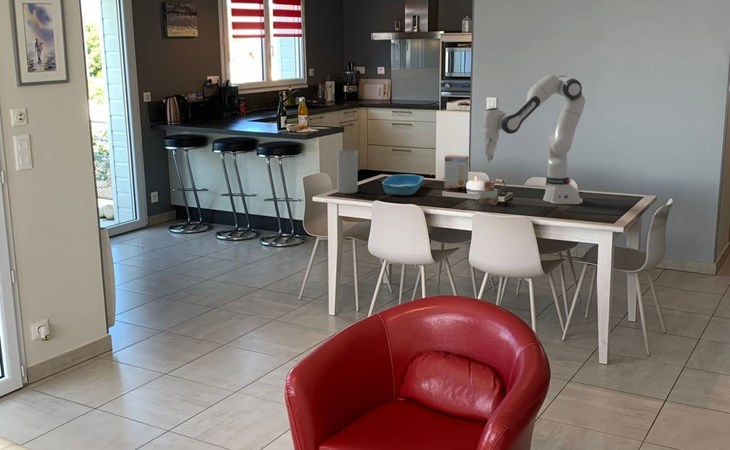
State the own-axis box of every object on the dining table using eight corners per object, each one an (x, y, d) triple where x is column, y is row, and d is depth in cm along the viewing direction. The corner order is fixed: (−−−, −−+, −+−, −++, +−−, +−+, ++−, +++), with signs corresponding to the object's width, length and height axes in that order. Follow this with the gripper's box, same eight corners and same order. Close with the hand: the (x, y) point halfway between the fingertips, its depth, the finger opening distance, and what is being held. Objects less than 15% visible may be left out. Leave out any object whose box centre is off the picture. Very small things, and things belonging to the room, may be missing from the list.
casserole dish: (414, 197, 478) (414, 186, 477) (378, 195, 484) (378, 184, 482) (426, 186, 513) (426, 175, 511) (392, 184, 519) (393, 173, 517)
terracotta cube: (494, 189, 464) (494, 181, 463) (493, 191, 459) (493, 182, 458) (485, 189, 465) (485, 180, 464) (484, 190, 461) (484, 182, 459)
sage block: (497, 195, 466) (497, 189, 465) (493, 198, 459) (494, 191, 458) (483, 194, 469) (484, 187, 468) (480, 197, 462) (480, 190, 461)
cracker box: (468, 188, 503) (469, 155, 498) (465, 190, 498) (466, 157, 493) (446, 186, 509) (447, 154, 504) (443, 188, 503) (444, 155, 498)
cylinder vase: (360, 193, 490) (360, 152, 484) (340, 194, 486) (340, 153, 480) (353, 189, 502) (353, 149, 495) (334, 190, 498) (334, 150, 491)
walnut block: (498, 202, 468) (498, 195, 467) (496, 205, 459) (496, 199, 458) (481, 201, 471) (481, 194, 470) (478, 204, 461) (478, 197, 460)
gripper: (494, 139, 444) (493, 164, 447) (498, 134, 463) (497, 158, 466) (482, 139, 446) (482, 163, 449) (487, 134, 465) (487, 157, 468)
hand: (490, 160), depth 458 cm, fingers open, 8 cm apart
